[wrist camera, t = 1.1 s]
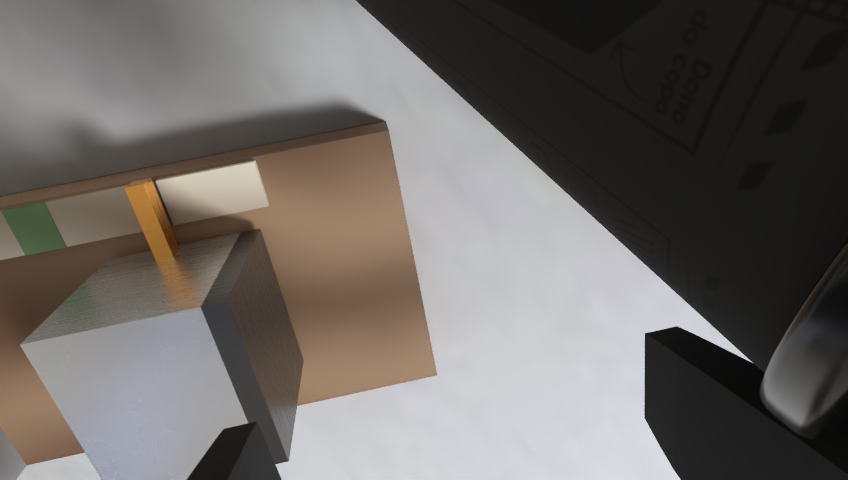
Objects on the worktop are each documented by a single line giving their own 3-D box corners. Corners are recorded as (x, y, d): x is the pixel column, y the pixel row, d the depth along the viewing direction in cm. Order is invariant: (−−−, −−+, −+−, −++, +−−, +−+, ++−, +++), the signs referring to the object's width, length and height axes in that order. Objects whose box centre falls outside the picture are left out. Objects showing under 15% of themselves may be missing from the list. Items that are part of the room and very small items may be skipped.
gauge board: (431, 351, 20) (459, 474, 15) (-30, 451, 19) (-181, 620, 14) (385, 121, 16) (400, 171, 11) (-191, 233, 16) (-483, 349, 10)
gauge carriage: (303, 360, 18) (288, 460, 13) (170, 388, 17) (114, 499, 13) (237, 158, 15) (192, 211, 11) (74, 190, 14) (-34, 256, 10)
